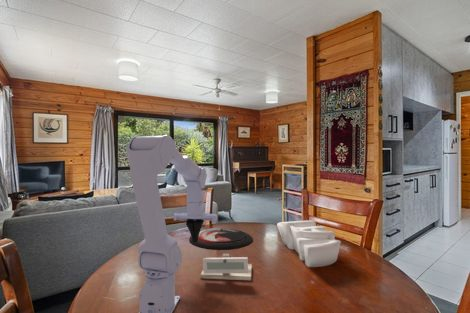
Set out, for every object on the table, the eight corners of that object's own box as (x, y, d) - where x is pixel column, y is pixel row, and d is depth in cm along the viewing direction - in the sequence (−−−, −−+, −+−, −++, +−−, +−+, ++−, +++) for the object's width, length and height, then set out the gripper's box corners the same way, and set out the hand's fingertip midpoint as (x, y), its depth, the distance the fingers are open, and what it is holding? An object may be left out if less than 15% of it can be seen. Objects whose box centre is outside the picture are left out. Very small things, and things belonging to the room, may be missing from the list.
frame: (248, 274, 73) (247, 259, 73) (203, 274, 74) (202, 259, 74) (248, 271, 75) (247, 257, 75) (204, 271, 76) (203, 257, 76)
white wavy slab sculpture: (350, 272, 81) (350, 240, 81) (303, 274, 79) (303, 242, 79) (307, 237, 115) (307, 215, 115) (274, 238, 114) (274, 216, 114)
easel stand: (251, 280, 75) (250, 257, 75) (200, 278, 76) (200, 255, 76) (251, 267, 84) (251, 246, 84) (206, 265, 85) (206, 244, 85)
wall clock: (179, 252, 103) (248, 253, 97) (178, 242, 103) (247, 242, 97) (200, 233, 129) (256, 232, 123) (200, 224, 129) (255, 223, 123)
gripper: (218, 199, 85) (218, 238, 85) (178, 199, 86) (178, 236, 86) (214, 203, 78) (214, 245, 78) (171, 202, 79) (171, 243, 79)
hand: (195, 241), depth 82 cm, fingers closed
